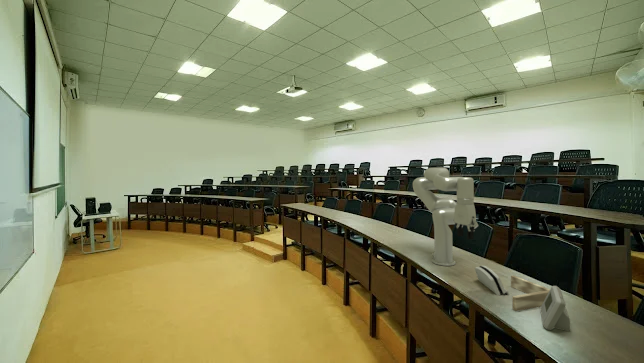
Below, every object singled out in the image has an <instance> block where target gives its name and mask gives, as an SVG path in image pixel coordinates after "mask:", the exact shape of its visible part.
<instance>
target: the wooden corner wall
mask: <svg viewBox="0 0 644 363" xmlns="http://www.w3.org/2000/svg"><path fill="white" fill-rule="evenodd" d="M510 287H511V288H512V289H516V290H517V291H520V292H522V293H524V294H518V295H513V296H512V298H511V299H512V310H513V311H515V312H518V311H519V312H520V311H524V310H529V309H535V308H541V306H542V304H543V302H544V300H545V298H546V296H547V295H548V293H549V291H550V289H551V288H548V287H545V286H542V285H540V284H537V283H536V282H535V283H534V282H532V281H529V280H526V279H525V278H524V279H523V278H522V277H519V276H516V275H510Z"/></svg>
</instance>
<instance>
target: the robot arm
mask: <svg viewBox="0 0 644 363" xmlns="http://www.w3.org/2000/svg"><path fill="white" fill-rule="evenodd" d="M423 175H424V176H421V177H417V178H415V179H414V180H413V181H412V188H413V191H414V194H415V195H416V197H417V198H418V199H419V200H421V202H423V204H424V205H425V207H426V209H428V210H429V212H430V213H432V214H431V215H432V221H433V228H434V229H433V231H434V232H433V233H434V236H433V237H434V241H433V242H434V251H433V252H432V253H431V256H433V258H432V259H431V262H432V263H433V264H435V265H438V266H442V267H443V266H444V267H450V266H451V267H452V266H455V265H456V261H455V259H453V254H454V253H453V231H452V229H451V227H450V225H455V227H456V229H457V231H456V233H457V237H463V236H464V228H463V227H464V226H466V227H467V232H466V238H467V240H474V234H475V231H476V229H477V228H478V227H479V224H478V222H477V216H476V214H477V213H476V208H475V200H474V198H475V197H474V195H475V193H474V190H475V188H474V187H475V186H474V180H475V179H474V178H473V177H470V176H469V177H466V176H465V177H463V176H450V171H449V170H448V168H446V167H441V166H440V167H428V168H426V169H425V170H424V172H423ZM431 190H433V191H434V190H435V191H436V190H439V191H441V192H456V200H454V199H452V198H450V197H438V196H436V194H435V193H434V192H432V191H431Z"/></svg>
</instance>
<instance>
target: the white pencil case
mask: <svg viewBox="0 0 644 363" xmlns="http://www.w3.org/2000/svg"><path fill="white" fill-rule="evenodd" d="M474 271H475V274H476V277H477V280H478V281H479V282H480V283H481V284H483V285H484V286H485V287H487V288H488V289H489V290H490V291H492V292H493V293H494V294H495V295H496V296H501V294H503V295H504V294H506V295H507V296H510V293H509V290H507V289H506V288H505V287H504V285H503V283H502V280H501V278H500V276H499V275H498V274H497V273H496V272H495V271H494V270H492V269H491V268H490V267H489V266H486V265H479V266H475V268H474Z"/></svg>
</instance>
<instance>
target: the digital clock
mask: <svg viewBox="0 0 644 363" xmlns="http://www.w3.org/2000/svg"><path fill="white" fill-rule="evenodd" d="M549 289H550V291H549V293H548V295H547V296H546V298H545V300H544V302H543V304H542V306H541V307H540V314H541V315H540V316H541V322H542V325H543V327H544V328H545V329H546V330H548V331H552V330H553V329H557V330H562V331H565V332H570V330H571V319H570V316H569V313H568V310H567V308H566V301H565V298H564V295H563V292H562V290H561V288H560V287H558V286H557V285H552V286H551V287H550V288H549Z"/></svg>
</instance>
